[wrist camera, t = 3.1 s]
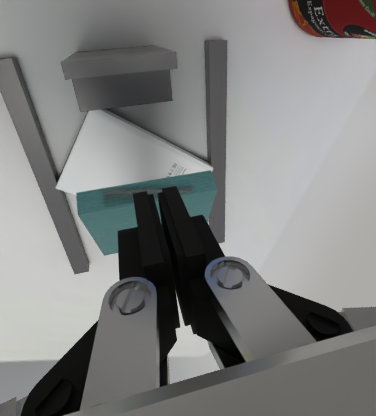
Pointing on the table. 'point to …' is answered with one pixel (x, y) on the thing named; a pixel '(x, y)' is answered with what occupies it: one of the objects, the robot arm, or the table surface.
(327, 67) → the table surface
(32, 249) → the table surface
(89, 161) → the external hard drive
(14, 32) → the table surface
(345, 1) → the canned food
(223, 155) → the socket frame
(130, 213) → the rectangular panel
